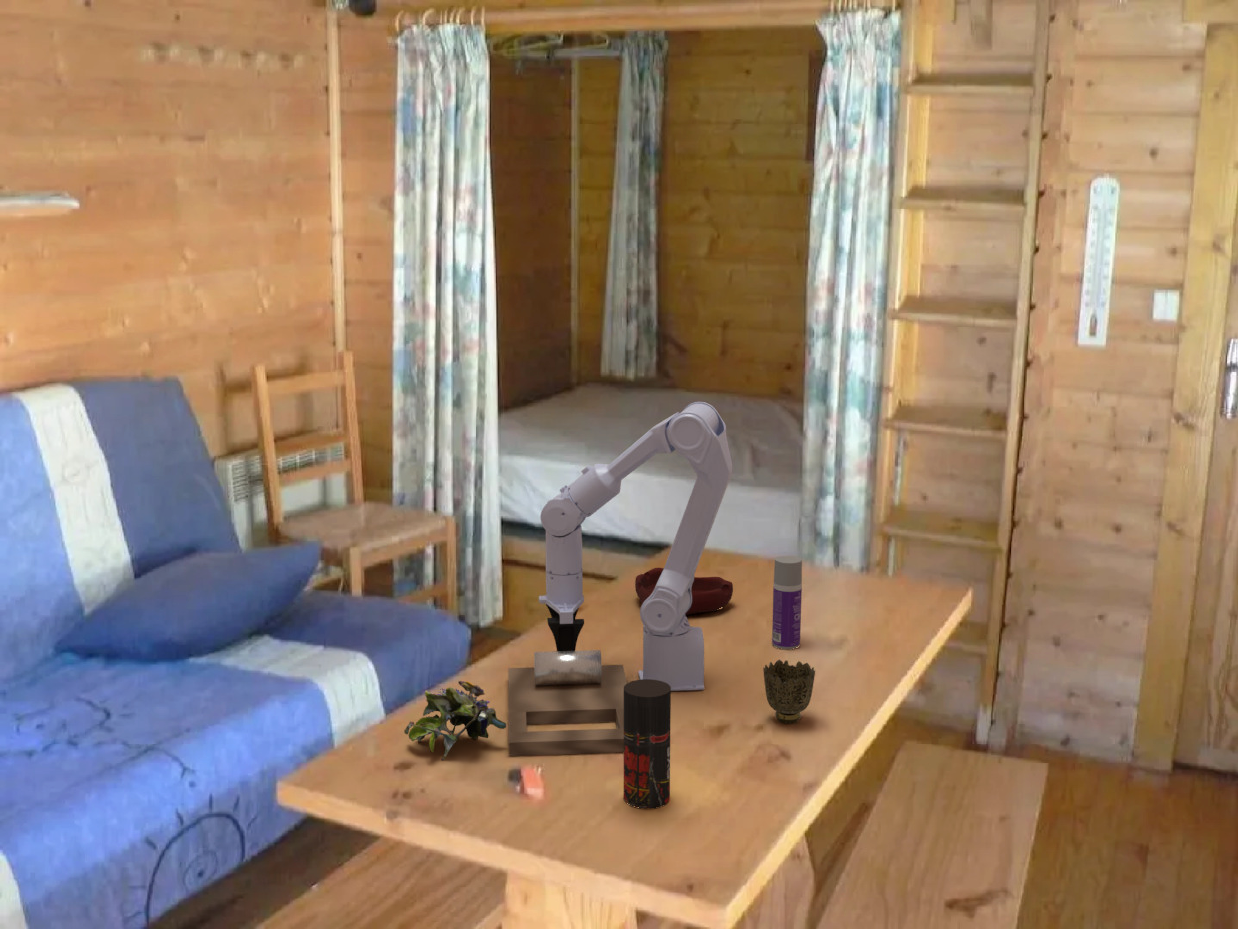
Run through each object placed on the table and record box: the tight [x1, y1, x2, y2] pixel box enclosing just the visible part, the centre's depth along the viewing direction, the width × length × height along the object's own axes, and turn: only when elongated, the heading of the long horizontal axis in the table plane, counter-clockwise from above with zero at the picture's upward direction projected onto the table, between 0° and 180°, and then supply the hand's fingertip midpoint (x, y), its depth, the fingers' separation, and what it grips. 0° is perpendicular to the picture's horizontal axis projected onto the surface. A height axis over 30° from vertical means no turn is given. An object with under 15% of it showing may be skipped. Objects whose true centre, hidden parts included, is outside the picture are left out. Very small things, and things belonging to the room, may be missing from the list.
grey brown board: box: [507, 664, 628, 757], centre depth 202 cm, size 18×28×2 cm, turn 5°
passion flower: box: [403, 680, 507, 761], centre depth 189 cm, size 11×11×12 cm
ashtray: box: [634, 567, 734, 616], centre depth 248 cm, size 18×16×5 cm
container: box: [771, 555, 803, 650], centre depth 228 cm, size 5×5×15 cm
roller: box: [533, 649, 603, 685], centre depth 208 cm, size 10×5×5 cm, turn 95°
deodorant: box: [623, 679, 672, 809], centre depth 174 cm, size 6×6×15 cm
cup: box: [762, 659, 816, 725], centre depth 198 cm, size 8×7×8 cm
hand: (564, 652), depth 217 cm, fingers open, 7 cm apart
